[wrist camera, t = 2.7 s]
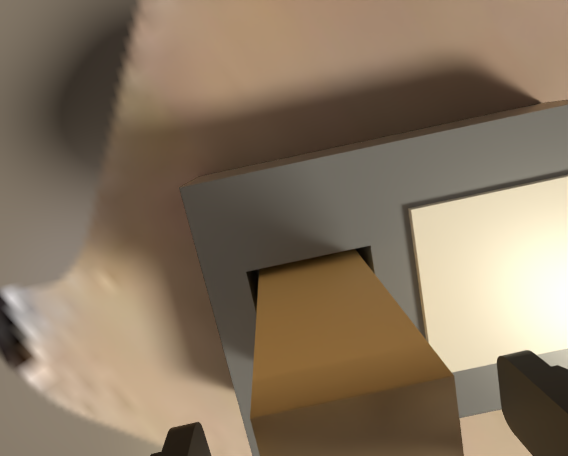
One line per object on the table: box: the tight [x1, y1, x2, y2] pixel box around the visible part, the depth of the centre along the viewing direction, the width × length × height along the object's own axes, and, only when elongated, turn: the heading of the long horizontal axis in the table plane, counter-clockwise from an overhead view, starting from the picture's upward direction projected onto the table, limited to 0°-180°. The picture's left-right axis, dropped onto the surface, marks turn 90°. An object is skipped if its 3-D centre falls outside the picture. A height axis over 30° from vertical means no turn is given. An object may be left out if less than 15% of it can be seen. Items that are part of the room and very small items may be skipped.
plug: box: [250, 249, 464, 456], centre depth 13 cm, size 4×4×11 cm
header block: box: [179, 100, 568, 456], centre depth 17 cm, size 12×16×4 cm
